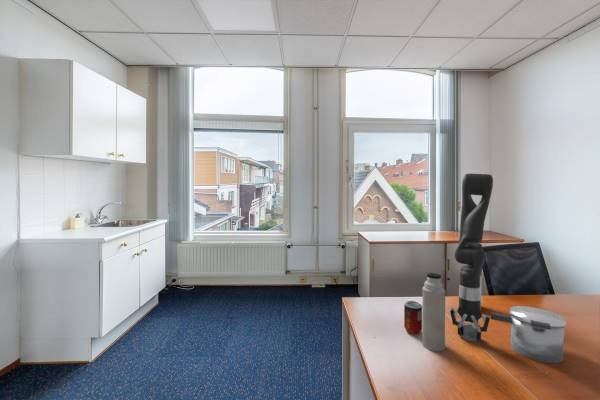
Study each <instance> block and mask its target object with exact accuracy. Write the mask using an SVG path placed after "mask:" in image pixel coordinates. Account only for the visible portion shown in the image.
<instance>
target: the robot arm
mask: <svg viewBox="0 0 600 400" xmlns="http://www.w3.org/2000/svg"><path fill="white" fill-rule="evenodd" d="M493 185H494V177H493V175H491V174H489V173H488V174H486V173H466V174H464V176H463V178H462V184H461V196H462V197H461V202H462V203H461V212H460V221H459V222H460V223H459V227H460V228H459V239H458V244H457V247H456V249H455V251H454V259H455V261H456V263H458V264H462V266H461V267H460V272H459V287H458V308H457V309H456V308H455V309H454V307H452V308H450V311H449V313H450V317H451V322H452V325H454V326H455V327H457V335H458V336H459V337H461V338H463V337H462V324H463V323H472V324H475V326H476V328H477V341H478V342H479V341H480V340H481V339H482V332H484V333H486V332H487V330H488V327H489V323H490V320H491V316H489V315H486V314H482V311H481V309H482V279H483V278H482V275H483V273H482V269H483V267H484V265H485V262H486V259H487V257H486V255H487V254H486V252H485V251H484V248H483V246H482V243H481V242H482V241H483V235H484V228H485V221H486V217H487V213H488V209H489V205H490V203H491V202H490V201H491V197H492V192H493V187H494V186H493ZM473 196H481V198H480V201H479V203H478V204H476V202H475V201H474V199H473ZM457 313H458V315H459V317H460V319H459V320H458V321H457V316H456V315H457ZM481 318H482V321H483V322H484V323H483V326H481V324H480V321H479V320H480V319H481Z"/></svg>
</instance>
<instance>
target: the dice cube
mask: <svg viewBox="0 0 600 400" xmlns="http://www.w3.org/2000/svg"><path fill="white" fill-rule="evenodd" d="M461 338H462V339H463V341H469V342H477V343H479V341H477V328H476V326H475V324H474V323H471V322H463V324H462V337H461Z"/></svg>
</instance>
